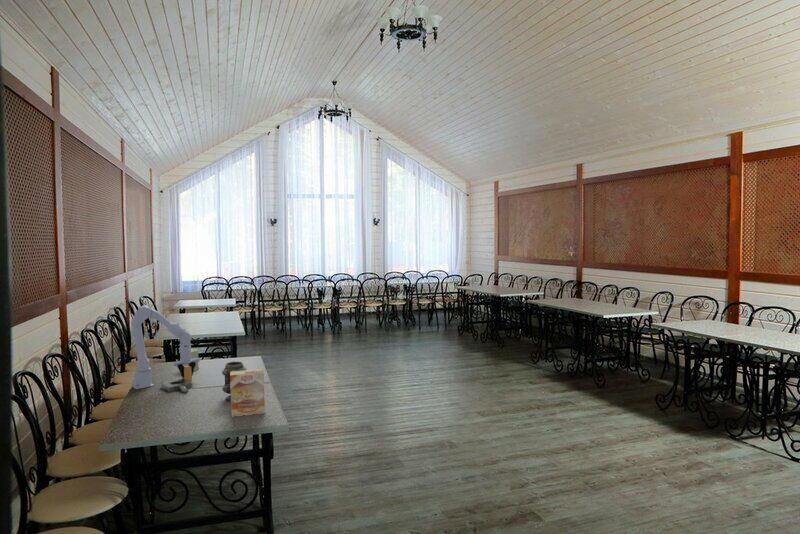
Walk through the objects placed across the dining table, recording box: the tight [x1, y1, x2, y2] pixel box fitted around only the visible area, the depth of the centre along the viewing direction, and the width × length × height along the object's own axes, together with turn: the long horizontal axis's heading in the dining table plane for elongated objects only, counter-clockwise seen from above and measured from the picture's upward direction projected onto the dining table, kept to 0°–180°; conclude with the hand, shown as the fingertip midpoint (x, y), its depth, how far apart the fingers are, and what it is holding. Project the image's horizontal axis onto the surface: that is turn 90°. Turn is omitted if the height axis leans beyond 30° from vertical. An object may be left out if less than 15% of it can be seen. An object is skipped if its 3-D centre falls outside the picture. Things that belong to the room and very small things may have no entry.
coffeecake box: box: [230, 368, 266, 418], centre depth 255 cm, size 15×7×20 cm, turn 106°
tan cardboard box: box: [181, 365, 193, 382], centre depth 311 cm, size 4×4×8 cm
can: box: [183, 348, 200, 372], centre depth 336 cm, size 9×9×12 cm
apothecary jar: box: [221, 360, 248, 402], centre depth 277 cm, size 12×12×18 cm
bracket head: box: [160, 378, 193, 394], centre depth 296 cm, size 12×20×2 cm, turn 41°
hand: (186, 376), depth 311 cm, fingers closed on tan cardboard box, 4 cm apart
